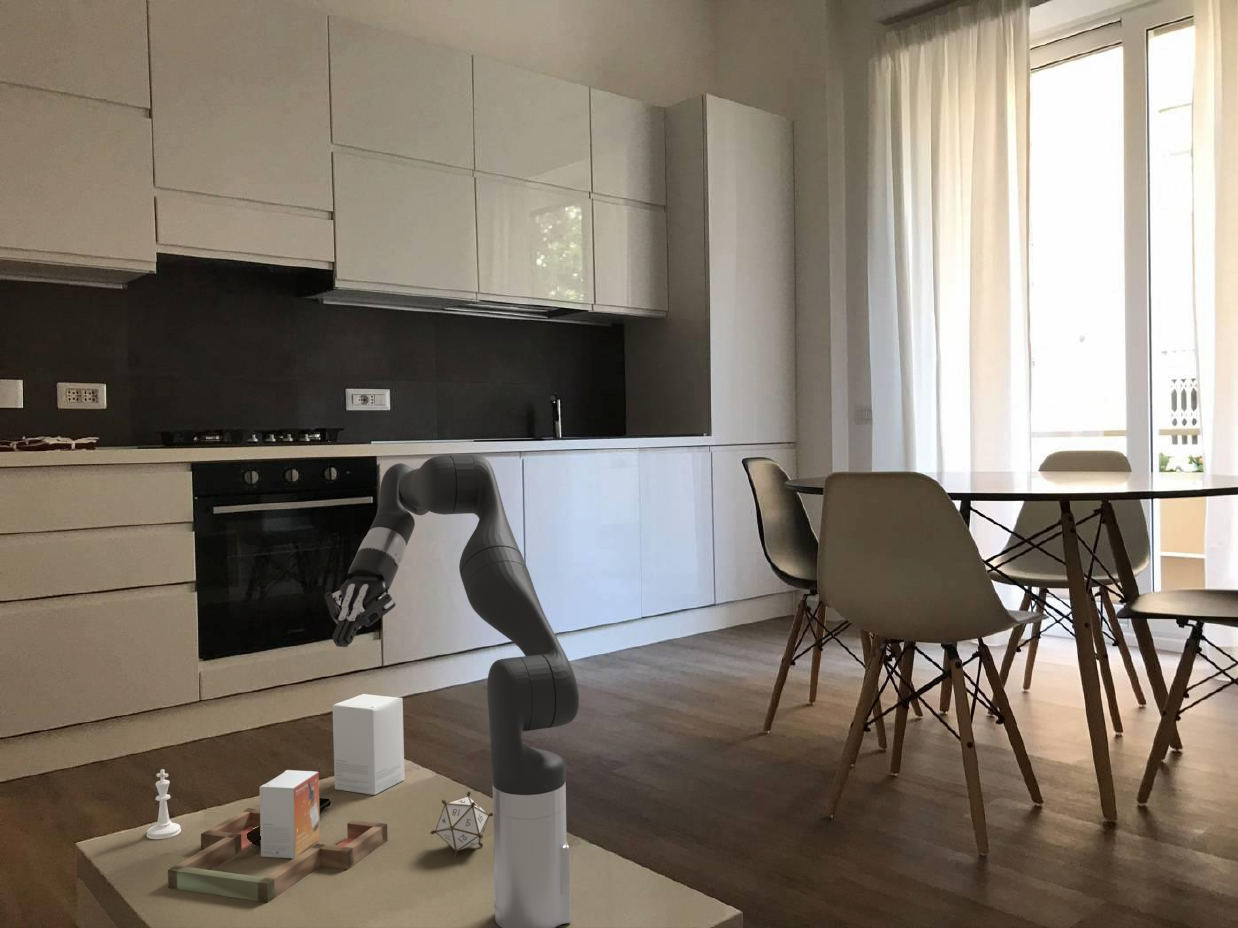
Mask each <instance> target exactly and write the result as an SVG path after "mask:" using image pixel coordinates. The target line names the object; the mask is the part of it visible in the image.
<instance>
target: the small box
mask: <svg viewBox="0 0 1238 928" xmlns="http://www.w3.org/2000/svg"><path fill="white" fill-rule="evenodd" d="M319 773H320V772H319V771H314V770H293V769H286V770H285V771H283V772H282V773H281V774H279V775H277V776H276V777H275V778H273V779H271V780H269V781H268V782H266V783H264V784H262V785H261V786H259V787H258V788H259V809H260V836H261V840H260V856H261V857H262V858H263V857H265V858H276V859H277V858H280V859H294V858H296V857H297V856H299V855H300V854H302V853H303V852H305V851H306V850H308V849H309V848H311V847H312V846H313V845H315V844H316V843H317V842H318V841H320V839H321V833H320V832H321V831H320V830H321V829H320V828H321V827H320V826H321V824H320V819H321V818H320V778H319V777H320V776H319V775H320V774H319Z"/></svg>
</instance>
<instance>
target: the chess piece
mask: <svg viewBox="0 0 1238 928" xmlns="http://www.w3.org/2000/svg"><path fill="white" fill-rule="evenodd" d="M159 771H160V772H159V773H156V777H157V778H160V780H158V781H156V782H155V787H156V789H157V793H158V795H157V796H156V797H155V801H158V802H159V810H158V816H157V817H158V818H157V822H155V825H153V826H151V827H149V828H148V829H147V831H146V837H147V839H151V840H164V839H169V838H173V837H175V836H177V835H179V834H181V832H182V829H181V824H178V823H176V822H172V820H170V815H169V810H168V809H169V808H168V803H167V802H168V801H167V800H169V799H171V795H170V794H168V790H169V789H168V788H169V786H170V783H171V782H170V780H168V779H165V778H167V777H169V773H167V772H166V773H165V769H160V770H159Z"/></svg>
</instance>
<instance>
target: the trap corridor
mask: <svg viewBox="0 0 1238 928" xmlns="http://www.w3.org/2000/svg"><path fill="white" fill-rule="evenodd" d="M257 826H260V808H251V807H248V808H245V809H244V810H242V811H240V812H239V813H237V814H235V815H233V816H232V817H228V818H227V819H226V820H223V821H221V822H220V823H217V824H216V825H215V826H212V827H210V828H209V829H206V830H205V831H204V832H202V833H201V834H200V851H199V852H197V853H195V854H194V855H192V856H190V857H188V858H187V859H184V860H182V861H181V862H179V863H178V864H175V865H174V866H173V867H170V868H168V869H167V881H168V882H167V884H168V885H167V887H168V889H171V890H172V889H174V890H180V891H187V892H193V893H200V894H207V895H215V896H222V897H228V898H234V899H235V898H236V899H242V900H243V899H244V900H249V901H256V902H257V901H258V902H261V903H262V902H264V903H270V901H272V900H273V899H275V898H276V897H278V896H279V895H281V894H283V892H285V891H286V890H288V889H289V888H291V887H292V886H293V885H295V884H297V883H298V882H300V881H301V880H302V879H304V878H305V877H306V876H308V875H310V874H311V873H312V872H314V871H315V870H317V869H318V868H319V867H326V868H335V869H342V870H349V869H350V868H351V867H354V865H356V864H358V862H359V861H361V860H363V859H364V858H365V857H367V856H368V855H370V853H372V852H373V851H375V850H376V849H378V848H379V847H380V846H382V845H383V844H384V843H386V842H387V841H388V837H389V836H388V823H383V822H382V823H381V822H374V821H364V820H355V819H352V820H350V821H349V822H348V823H346V826H347V827H346V828H347V831H346V832H347V837H346V838H345V839H344V840H342V841H341V842H339V843H338V844H336V845H333V844H324V843H314V844H313V845H311V846H310V847H308V848H307V849H306V850H304V851H303V852H302V853H301V854H299V855H298V856H297V857H296V858H292V859H291V860H290V861H287V863H285V864H283V865H282V866H280V867H279V868H277V869H276V870H274V871H273V872H271V873H270V874H268V875H267V876H266V877H262V876H257V875H256V876H254V875H247V874H241V873H235V872H233V873H232V872H225V871H220V870H219V871H218V870H212V869H214V868H215V867H217V866H218V865H219V866H220V865H221V864H222V863H224V862H226V861H227V860H229V859H230V858H232V857H234V856H235V855H237V854H238V853H240V852H242V851H244V850H246V849H247V848H249V847H250V846H252V845H253V844H252V842H250V841H249V840H248V839H247V835H246V834H247V833H248V832H250V831H252V830H253V828H255V827H257Z"/></svg>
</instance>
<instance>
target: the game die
mask: <svg viewBox="0 0 1238 928" xmlns="http://www.w3.org/2000/svg"><path fill="white" fill-rule="evenodd" d="M470 796H471V791H470V790H469V791H467V792H466V796H464V797H461V798H458V799H454V800H452V801H448V802H447V801H446V800H445V799H441V803H442V804H443V808H442V811H441V813H440V816H439V819H438V822H437V824H436V828H435V829H433V830H431V831H430V832H429V834H430V835H434V834H437V835H438V836H439V837H440V838H441V839H442V840H443V841H444V842H445V843H446V844H447V845H448V846H449V847H450V848H451V849H453V850H454V852H453V853H454V854H453V856H454V858H456V857H457V856H458V854H459V851H462V850H464V849H467V848H470V847H473V846H475V845H478V846H479V847H482V848H483V846H484V845H483V843H482V842H481V841H482V839H484V835H483V834H484V832H485V829H486V827H487V823H488V821H489V817H493V812H489V813H488V811H486V810H485V809H484V808H482V807H481V806H480V805H479V803H477V802H476V801H475V800H474V799H473V798H471V797H470Z"/></svg>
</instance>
